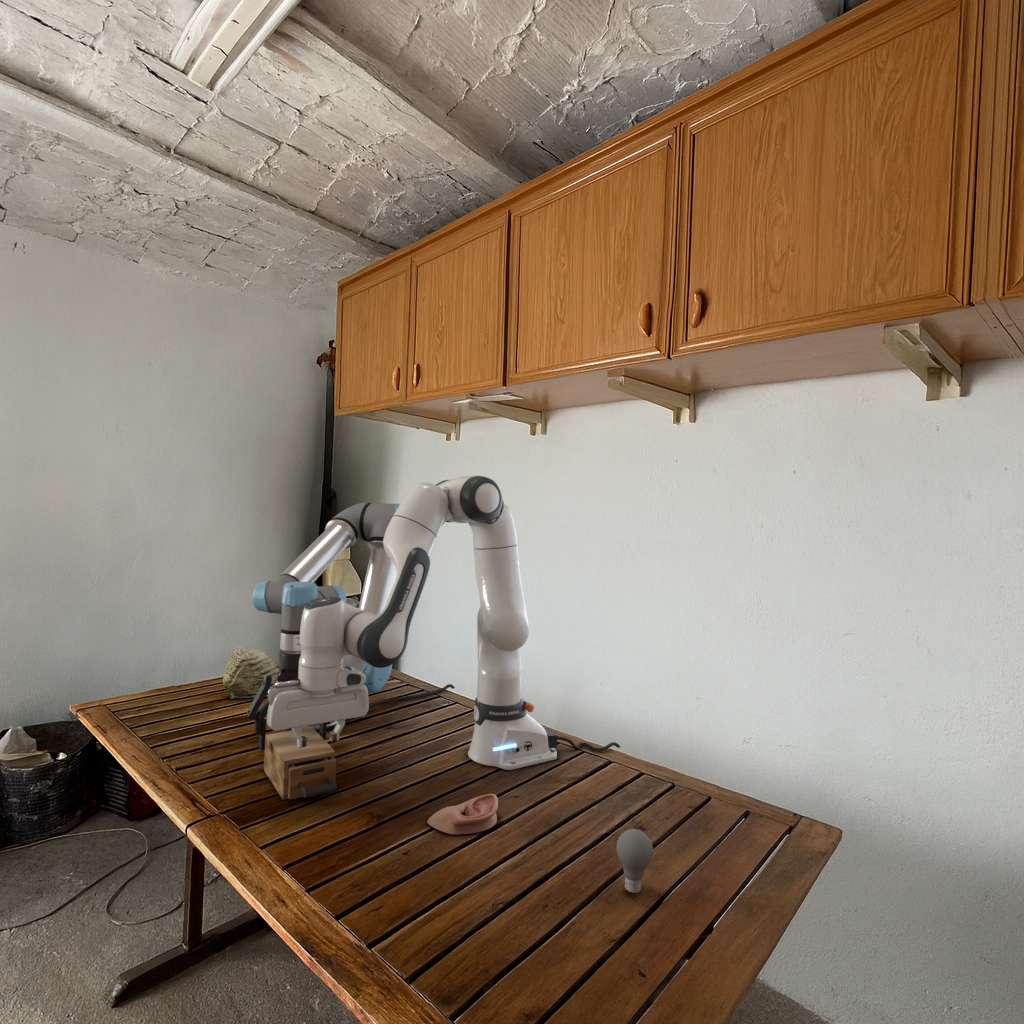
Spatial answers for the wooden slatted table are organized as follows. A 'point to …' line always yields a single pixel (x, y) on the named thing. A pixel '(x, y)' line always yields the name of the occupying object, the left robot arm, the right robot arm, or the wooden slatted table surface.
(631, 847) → the light bulb
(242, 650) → the fossil
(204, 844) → the wooden slatted table surface
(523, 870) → the wooden slatted table surface
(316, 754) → the cabinet
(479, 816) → the anatomical model
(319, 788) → the drawer
